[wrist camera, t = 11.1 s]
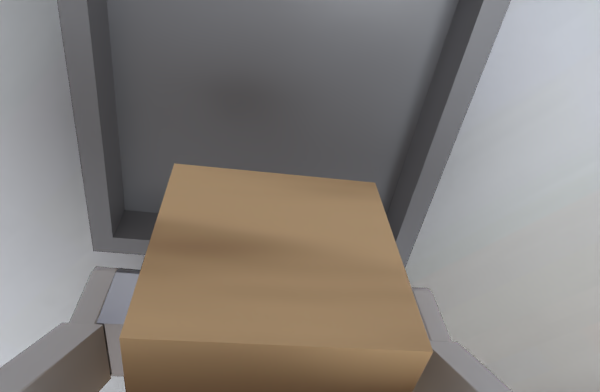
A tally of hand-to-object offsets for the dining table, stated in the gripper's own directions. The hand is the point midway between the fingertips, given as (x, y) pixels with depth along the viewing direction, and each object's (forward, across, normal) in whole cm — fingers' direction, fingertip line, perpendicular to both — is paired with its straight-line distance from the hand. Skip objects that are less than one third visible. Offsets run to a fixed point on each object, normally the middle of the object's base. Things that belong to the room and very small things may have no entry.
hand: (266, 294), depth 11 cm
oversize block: (+2, 0, 0) cm, 2 cm away
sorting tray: (+12, 0, 0) cm, 12 cm away
